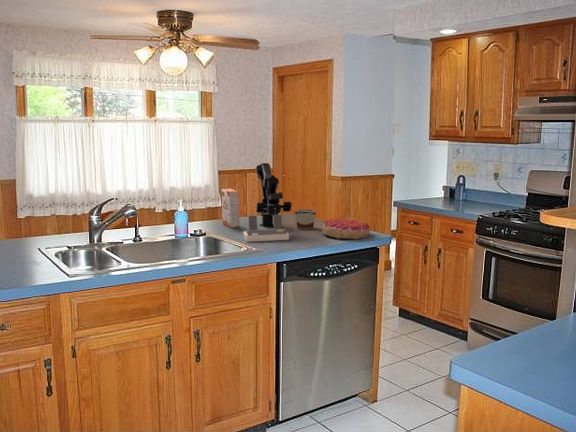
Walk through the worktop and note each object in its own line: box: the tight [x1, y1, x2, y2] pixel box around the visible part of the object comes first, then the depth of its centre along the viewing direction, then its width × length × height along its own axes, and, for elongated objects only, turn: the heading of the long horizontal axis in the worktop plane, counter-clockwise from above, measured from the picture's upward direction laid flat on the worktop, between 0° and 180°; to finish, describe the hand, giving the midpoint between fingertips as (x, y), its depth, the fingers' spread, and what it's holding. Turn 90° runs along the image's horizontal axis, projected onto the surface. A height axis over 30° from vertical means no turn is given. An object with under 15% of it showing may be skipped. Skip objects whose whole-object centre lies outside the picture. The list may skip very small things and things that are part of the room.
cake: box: [322, 217, 371, 240], centre depth 289 cm, size 25×25×8 cm
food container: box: [294, 209, 317, 230], centre depth 310 cm, size 12×6×10 cm, turn 84°
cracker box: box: [221, 188, 240, 229], centre depth 315 cm, size 14×6×21 cm, turn 25°
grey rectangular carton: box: [273, 214, 283, 229], centre depth 283 cm, size 2×4×8 cm, turn 101°
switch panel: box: [242, 227, 290, 242], centre depth 281 cm, size 11×22×6 cm, turn 102°
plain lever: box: [248, 215, 258, 230], centre depth 281 cm, size 2×4×8 cm, turn 101°
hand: (275, 219), depth 288 cm, fingers closed
